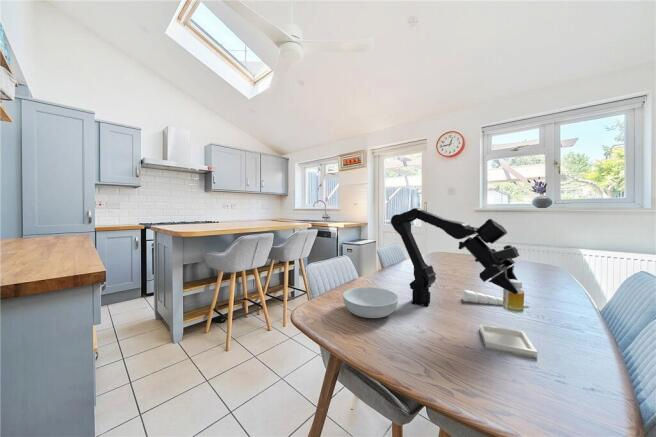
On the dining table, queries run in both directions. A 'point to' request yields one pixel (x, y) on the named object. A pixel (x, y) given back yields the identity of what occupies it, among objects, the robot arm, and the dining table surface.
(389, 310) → the serving bowl
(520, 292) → the supplement bottle
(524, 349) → the dish
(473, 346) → the dining table surface
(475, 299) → the unicorn horn
